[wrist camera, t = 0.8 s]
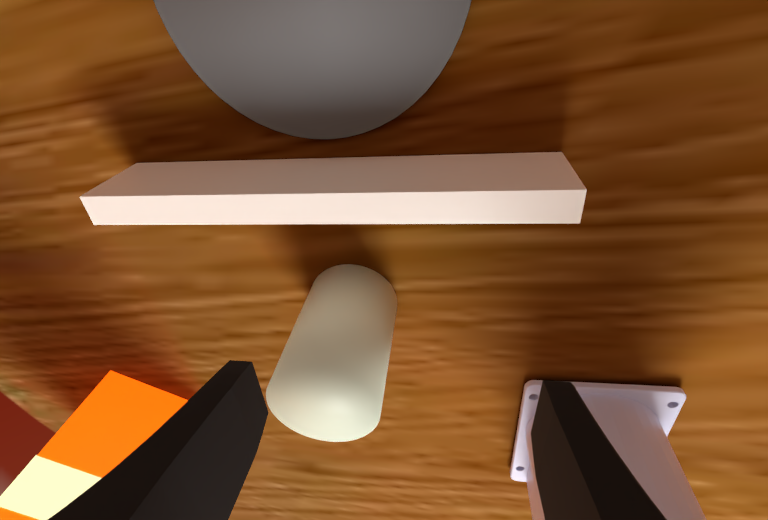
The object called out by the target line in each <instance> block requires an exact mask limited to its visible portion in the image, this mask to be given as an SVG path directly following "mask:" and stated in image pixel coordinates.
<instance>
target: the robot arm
mask: <svg viewBox="0 0 768 520" xmlns="http://www.w3.org/2000/svg"><path fill="white" fill-rule="evenodd" d="M532 394H533V395H532ZM685 400H686V394H685V393H684V391H683V389H681V388H679V387H671V386H650V385H630V384H609V383H589V382H568V381H549V380H530V381H528V382H527V383H525V385H524V391H523V397H522V403H521V408H520V414H519V420H518V426H517V432H516V438H515V444H514V450H513V456H512V462H511V468H510V476H511V478H512V479H513V480H515V481H523V482H527V487H528V493H529V499H530V506H531V512H532V519H533V520H706V518H705V516H704V514H703V512H702V510H701V507H700V505H699V503H698V501H697V499H696V497H695V495H694V493H693V491H692V489H691V487H690V484H689V482H688V480H687V478H686V476H685V474H684V472H683V470H682V468H681V466H680V464H679V462H678V459H677V457H676V455H675V453H674V451H673V449H672V447H671V445H670V443H669V441H668V439H667V436H668V434H669V432H670V430H671V428H672V426H673V424H674V422H675V420H676V418H677V416H678V414H679V412H680V410H681V408H682V406H683V404H684V402H685ZM267 415H268V410H267V407H266V404H265V401H264V398H263V394H262V391H261V388H260V385H259V382H258V379H257V376H256V373H255V370H254V367H253V363H252V362H247V361H231V360H230V361H229V362H228V363H227V364H226V365H225V366H223V367H222V368H221V369H220V370H219V371H218V372H217V373H216V374H215V375H214V376H213V377H212V378H211V379H210V380H209V381H208V382H207V383H206V384H205V385H204V386H203V387H202V388H201V389H200V390H199V391H198V392H197V393H196V394H194V395H193V396H192V397H191V398H190V399H189V400H188V401H187V402H186V403H185V404H184V405H183V406H182V407H181V408H180V409H179V410H178V411H177V412H176V413H175V414H174V415H173V416H171V417H170V418H169V419H168V420H167V421H166V422H165V423H164V424H163V425H162V426H161V427H160V428H159V429H158V430H157V431H155V432H154V433H153V434H152V435H151V436H150V437H149V438H148V439H147V440H145V441H144V442H143V443H142V444H141V445H140V446H139V447H137V448H136V449H135V450H134V451H133V452H132V453H131V454H129V455H128V456H127V457H126V458H125V459H124V460H123V461H122V462H120V463H119V464H118V465H117V466H116V467H115V468H113V469H112V470H111V471H110V472H109V473H107V474H106V475H105V476H104V477H102V478H101V479H100V480H99V481H98V482H96V483H95V484H94V485H93V486H91V487H90V488H89V489H88V490H86V491H85V492H84V493H82V494H81V495H80V496H78V497H77V498H76V499H75V500H73V501H72V502H71V503H69V504H68V505H67V506H66V507H64V508H63V509H62V510H60V511H59V512H57V513H56V514H55V515H53V516H52V517H51V518H49V519H48V520H228V518H229V516H230V514H231V511H232V509H233V507H234V504H235V502H236V500H237V497H238V495H239V493H240V490H241V488H242V486H243V483H244V481H245V479H246V476H247V474H248V472H249V469H250V467H251V464H252V462H253V460H254V457H255V455H256V452H257V449H258V446H259V443H260V440H261V436H262V433H263V429H264V426H265V422H266V419H267Z"/></svg>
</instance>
